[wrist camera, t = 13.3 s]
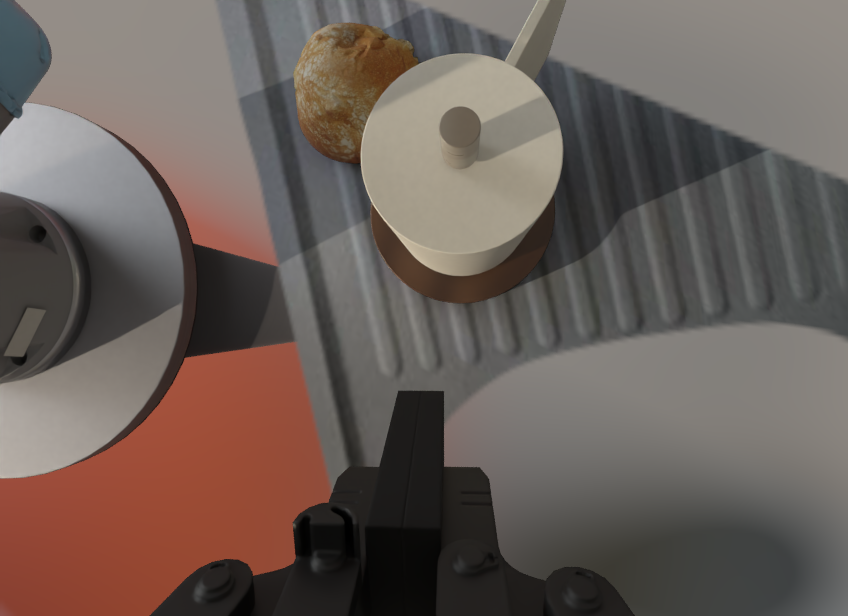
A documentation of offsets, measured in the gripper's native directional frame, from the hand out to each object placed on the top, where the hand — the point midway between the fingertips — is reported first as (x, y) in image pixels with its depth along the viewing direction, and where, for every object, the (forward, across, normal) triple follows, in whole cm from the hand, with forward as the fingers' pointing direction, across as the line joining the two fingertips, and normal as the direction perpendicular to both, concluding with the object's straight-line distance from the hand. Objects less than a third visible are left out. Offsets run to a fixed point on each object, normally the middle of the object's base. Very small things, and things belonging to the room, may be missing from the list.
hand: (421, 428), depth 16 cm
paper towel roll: (+23, +5, +9) cm, 25 cm away
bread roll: (+27, -6, +14) cm, 31 cm away
